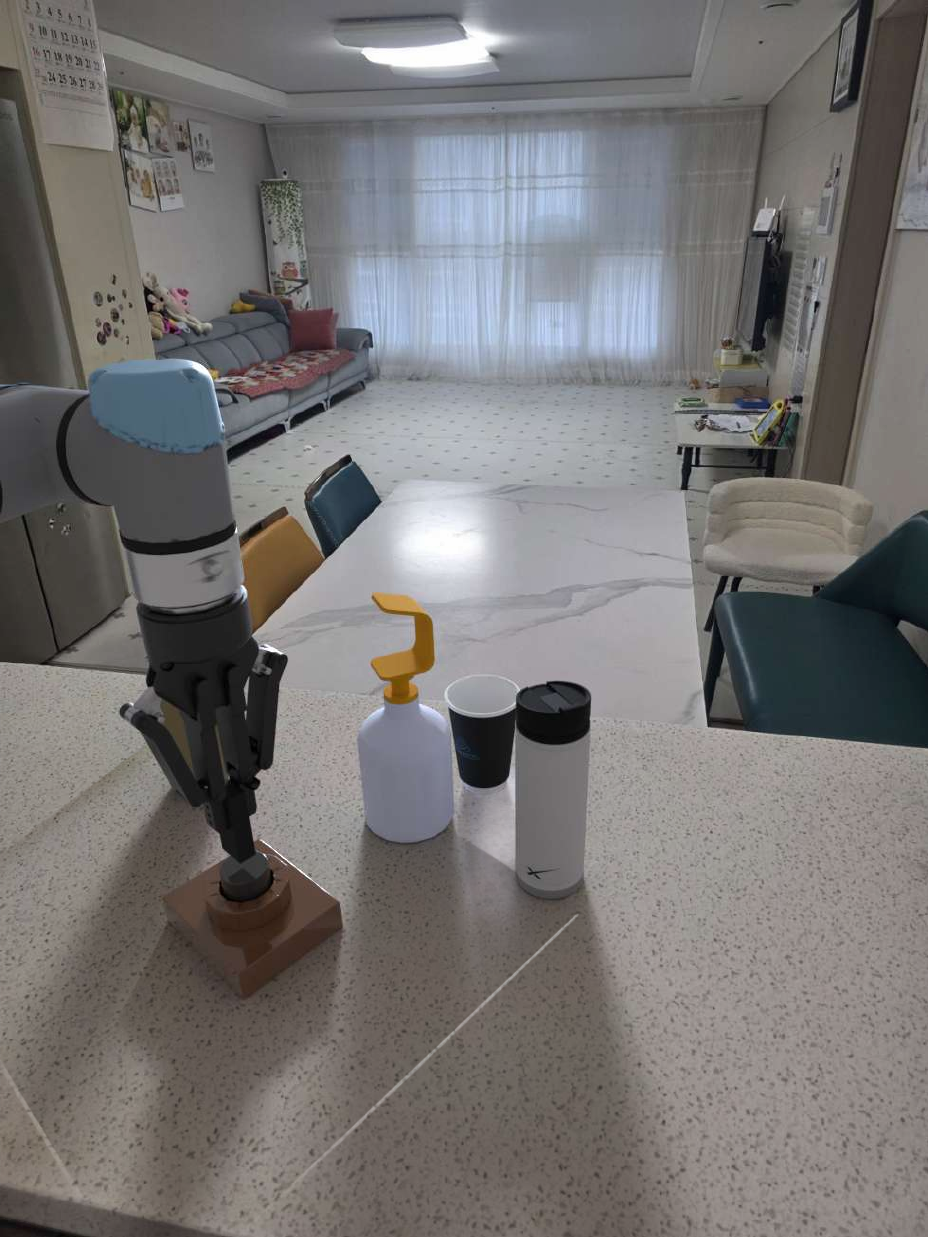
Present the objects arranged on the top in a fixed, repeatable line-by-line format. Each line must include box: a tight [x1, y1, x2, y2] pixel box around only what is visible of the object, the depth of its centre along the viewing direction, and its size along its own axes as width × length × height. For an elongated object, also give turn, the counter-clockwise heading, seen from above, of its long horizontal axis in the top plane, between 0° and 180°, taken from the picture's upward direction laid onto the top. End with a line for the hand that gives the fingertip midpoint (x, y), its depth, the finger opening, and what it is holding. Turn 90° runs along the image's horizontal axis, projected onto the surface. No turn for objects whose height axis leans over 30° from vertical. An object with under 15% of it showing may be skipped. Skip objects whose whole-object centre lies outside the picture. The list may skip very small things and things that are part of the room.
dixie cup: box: [443, 674, 521, 796], centre depth 86 cm, size 8×8×11 cm
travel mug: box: [514, 680, 592, 900], centre depth 71 cm, size 6×7×20 cm
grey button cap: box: [219, 851, 271, 902], centre depth 69 cm, size 4×4×2 cm
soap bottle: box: [356, 592, 455, 844], centre depth 79 cm, size 9×9×25 cm
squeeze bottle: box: [161, 700, 230, 779], centre depth 87 cm, size 8×8×18 cm
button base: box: [161, 838, 344, 1001], centre depth 71 cm, size 12×10×5 cm
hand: (238, 851), depth 68 cm, fingers closed
